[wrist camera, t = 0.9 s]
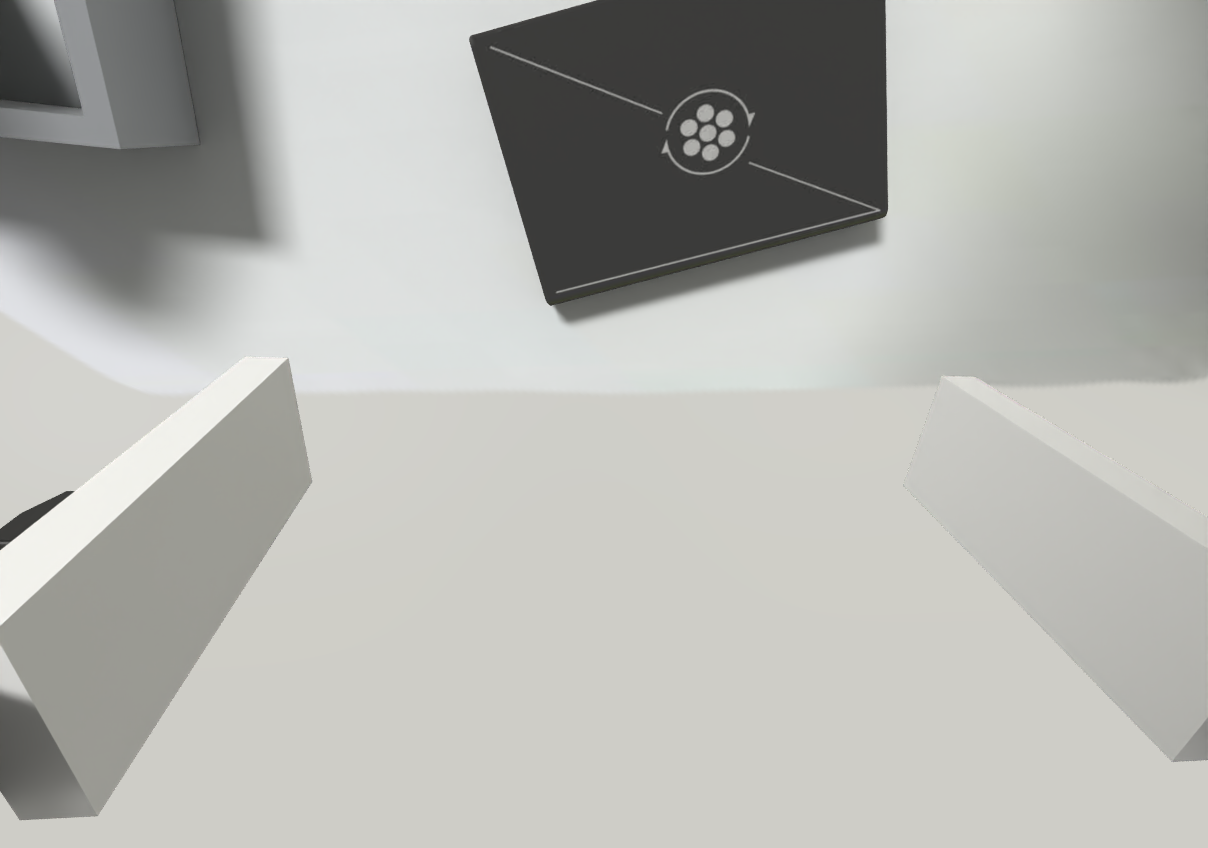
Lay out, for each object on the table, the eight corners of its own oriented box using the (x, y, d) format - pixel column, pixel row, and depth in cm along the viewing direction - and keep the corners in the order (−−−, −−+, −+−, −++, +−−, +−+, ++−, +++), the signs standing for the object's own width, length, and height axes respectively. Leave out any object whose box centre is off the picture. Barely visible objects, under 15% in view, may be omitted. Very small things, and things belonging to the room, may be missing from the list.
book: (548, 298, 39) (548, 310, 37) (474, 43, 33) (467, 36, 30) (865, 214, 39) (888, 220, 36) (857, -65, 32) (885, -82, 29)
